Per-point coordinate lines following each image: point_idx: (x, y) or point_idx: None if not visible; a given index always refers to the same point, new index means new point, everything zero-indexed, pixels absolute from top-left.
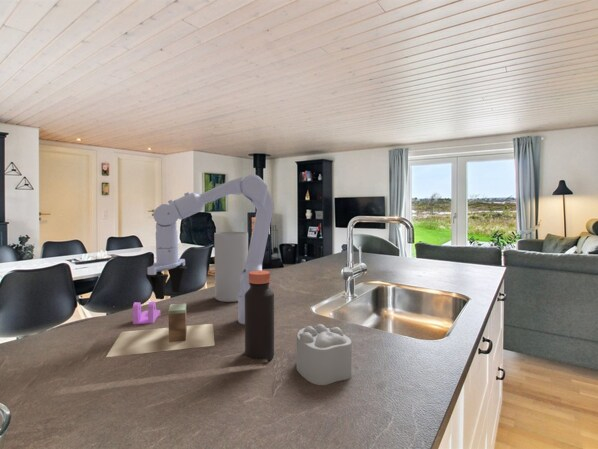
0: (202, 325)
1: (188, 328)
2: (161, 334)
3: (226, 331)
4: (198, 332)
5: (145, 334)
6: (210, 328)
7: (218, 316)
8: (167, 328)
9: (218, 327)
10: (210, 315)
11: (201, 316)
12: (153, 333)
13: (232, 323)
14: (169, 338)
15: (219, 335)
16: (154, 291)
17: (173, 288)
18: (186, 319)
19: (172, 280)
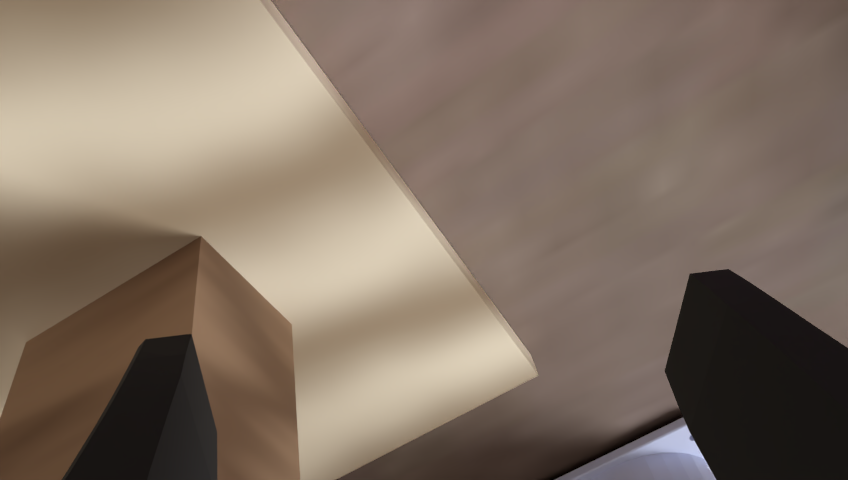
0: (481, 336)
1: (380, 284)
2: (139, 169)
3: (465, 459)
4: (322, 395)
5: (43, 3)
6: (430, 415)
7: (796, 259)
8: (311, 112)
9: (531, 386)
10: (831, 185)
11: (807, 125)
12: (118, 72)
13: (627, 416)
14: (22, 370)
15: (382, 462)
16: (79, 472)
17: (716, 339)
18: (295, 419)
19: (844, 454)
